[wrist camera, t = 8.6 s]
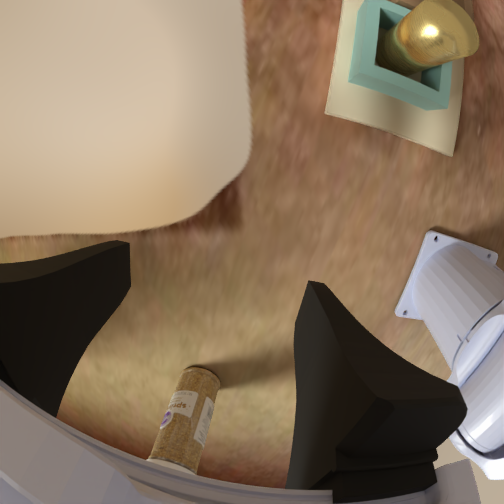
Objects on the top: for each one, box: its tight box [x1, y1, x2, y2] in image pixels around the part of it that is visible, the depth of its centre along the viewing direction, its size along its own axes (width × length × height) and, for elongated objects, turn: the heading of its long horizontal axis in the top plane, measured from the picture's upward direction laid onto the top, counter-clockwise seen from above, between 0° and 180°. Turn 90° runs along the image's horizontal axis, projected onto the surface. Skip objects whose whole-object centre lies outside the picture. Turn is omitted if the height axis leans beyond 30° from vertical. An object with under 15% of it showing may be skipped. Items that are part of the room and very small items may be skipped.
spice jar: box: [146, 367, 220, 475], centre depth 22 cm, size 5×5×14 cm
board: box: [325, 0, 464, 157], centre depth 12 cm, size 10×18×1 cm, turn 170°
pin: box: [375, 0, 479, 77], centre depth 10 cm, size 3×3×8 cm
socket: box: [348, 0, 452, 111], centre depth 12 cm, size 6×6×3 cm
